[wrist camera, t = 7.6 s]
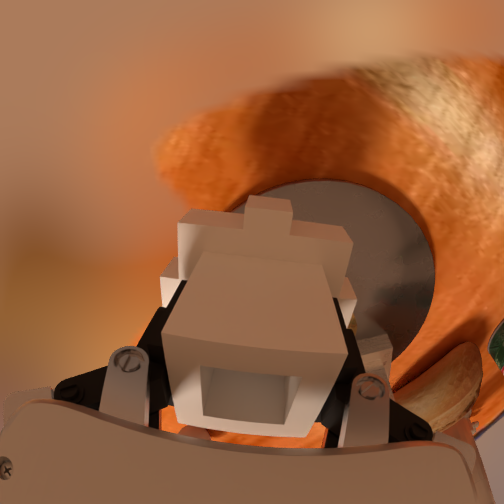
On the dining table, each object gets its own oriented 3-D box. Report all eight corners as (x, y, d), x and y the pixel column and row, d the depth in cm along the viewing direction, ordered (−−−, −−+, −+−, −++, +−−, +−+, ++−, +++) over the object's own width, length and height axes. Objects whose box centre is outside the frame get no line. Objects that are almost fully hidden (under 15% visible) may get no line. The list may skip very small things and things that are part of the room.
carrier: (457, 206, 18) (524, 248, 10) (381, 385, 28) (397, 446, 20) (194, 162, 19) (138, 185, 11) (195, 372, 28) (175, 438, 20)
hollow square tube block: (364, 210, 12) (440, 294, 6) (323, 352, 16) (337, 454, 9) (173, 188, 12) (82, 252, 6) (178, 335, 16) (140, 432, 9)
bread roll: (481, 348, 25) (506, 388, 18) (403, 414, 31) (415, 456, 23) (456, 321, 23) (488, 370, 16) (365, 400, 29) (376, 451, 22)
